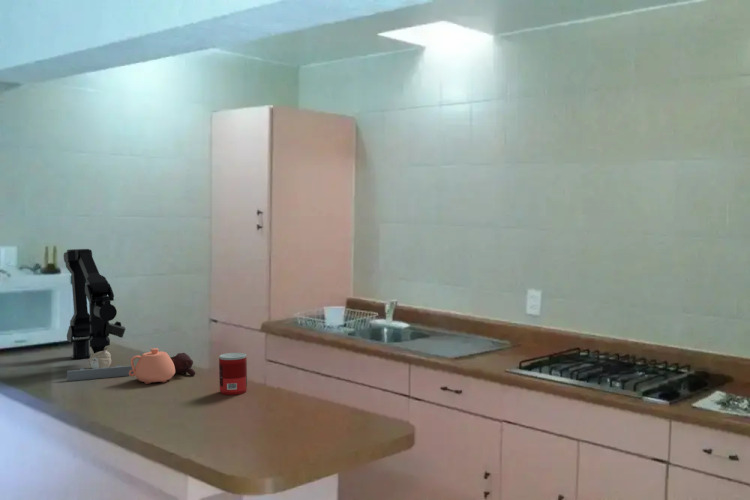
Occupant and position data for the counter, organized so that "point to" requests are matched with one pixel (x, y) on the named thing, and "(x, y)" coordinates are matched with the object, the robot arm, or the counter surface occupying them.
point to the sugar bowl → (153, 367)
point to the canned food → (233, 373)
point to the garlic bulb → (100, 359)
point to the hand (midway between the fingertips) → (100, 362)
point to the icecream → (183, 364)
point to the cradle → (98, 373)
